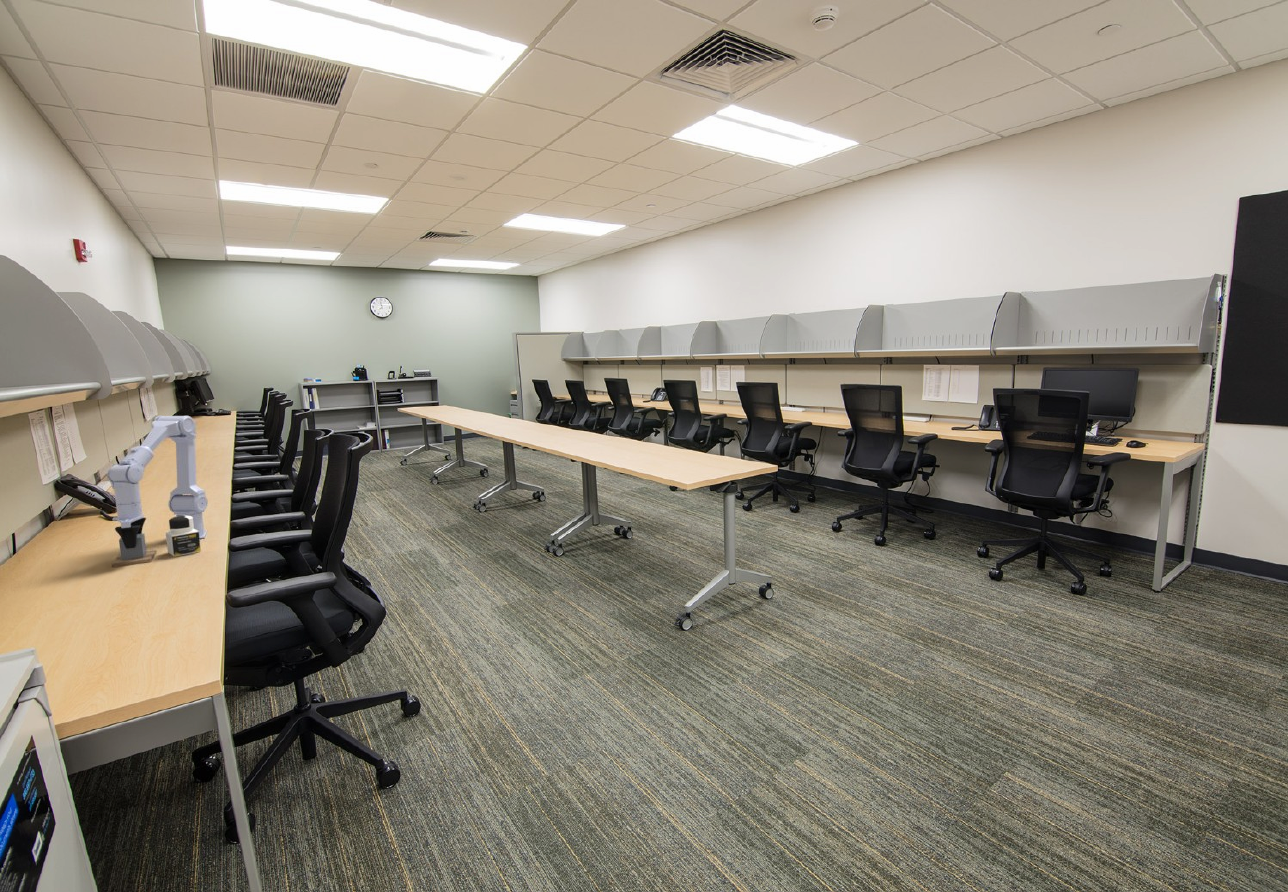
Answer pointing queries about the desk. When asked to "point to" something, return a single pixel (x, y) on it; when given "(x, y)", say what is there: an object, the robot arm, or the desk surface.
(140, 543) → the grey block
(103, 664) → the desk surface
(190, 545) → the medicine bottle
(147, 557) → the stand
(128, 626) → the desk surface
